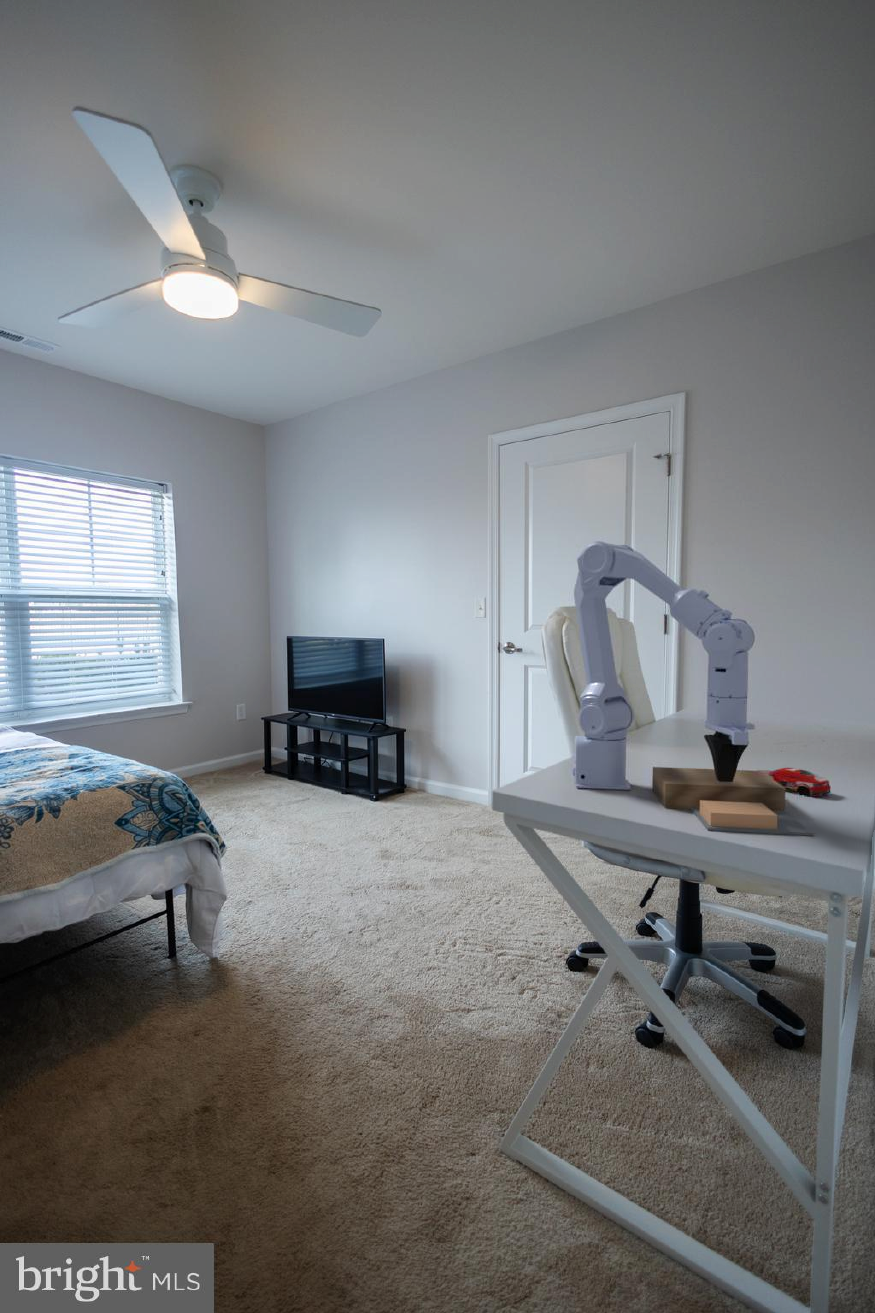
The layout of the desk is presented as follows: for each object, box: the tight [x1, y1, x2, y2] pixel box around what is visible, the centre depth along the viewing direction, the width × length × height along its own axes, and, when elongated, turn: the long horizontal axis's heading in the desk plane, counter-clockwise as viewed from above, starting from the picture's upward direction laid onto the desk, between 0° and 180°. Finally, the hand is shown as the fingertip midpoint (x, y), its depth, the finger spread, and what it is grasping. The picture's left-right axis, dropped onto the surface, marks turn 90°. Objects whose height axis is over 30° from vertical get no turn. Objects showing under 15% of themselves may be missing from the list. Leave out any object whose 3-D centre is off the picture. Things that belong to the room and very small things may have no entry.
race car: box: [756, 767, 832, 797], centre depth 109 cm, size 13×5×4 cm, turn 38°
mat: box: [690, 807, 814, 837], centre depth 92 cm, size 14×10×1 cm
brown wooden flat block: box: [651, 766, 787, 811], centre depth 102 cm, size 18×11×4 cm, turn 81°
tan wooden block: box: [700, 800, 777, 829], centre depth 91 cm, size 9×6×2 cm, turn 81°
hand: (724, 780), depth 97 cm, fingers closed
